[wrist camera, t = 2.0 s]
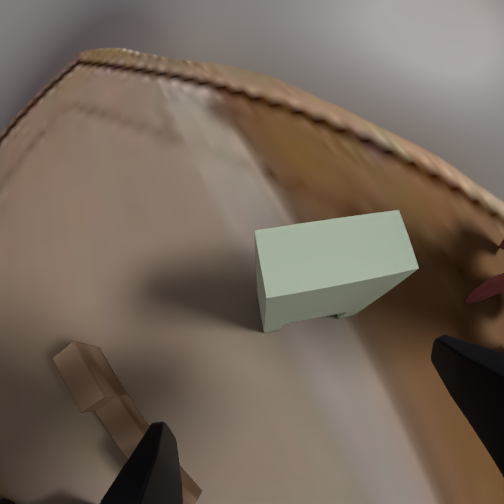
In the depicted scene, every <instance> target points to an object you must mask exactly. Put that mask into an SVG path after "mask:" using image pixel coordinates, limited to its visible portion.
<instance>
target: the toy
mask: <svg viewBox="0 0 504 504" xmlns="http://www.w3.org/2000/svg"><path fill="white" fill-rule="evenodd" d="M499 248H501V249H503V250H504V240H503V241H502V243H501V244H500V245H499ZM503 292H504V273H503V274H499V275H497V276H494V277H491V278H490V279H488V280H487V281H486V282H484V283H483V284H481V285H480V286H478V287H477V288H476V289H475V290H474V291H473V292H472V293H471V294H470V295H468V296H467V297H466V299H465V304H470V303H475V302H479V301H483V300H485V299H487V298H489V297H491V296H494V295H497V294H499V293H503Z"/></svg>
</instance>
